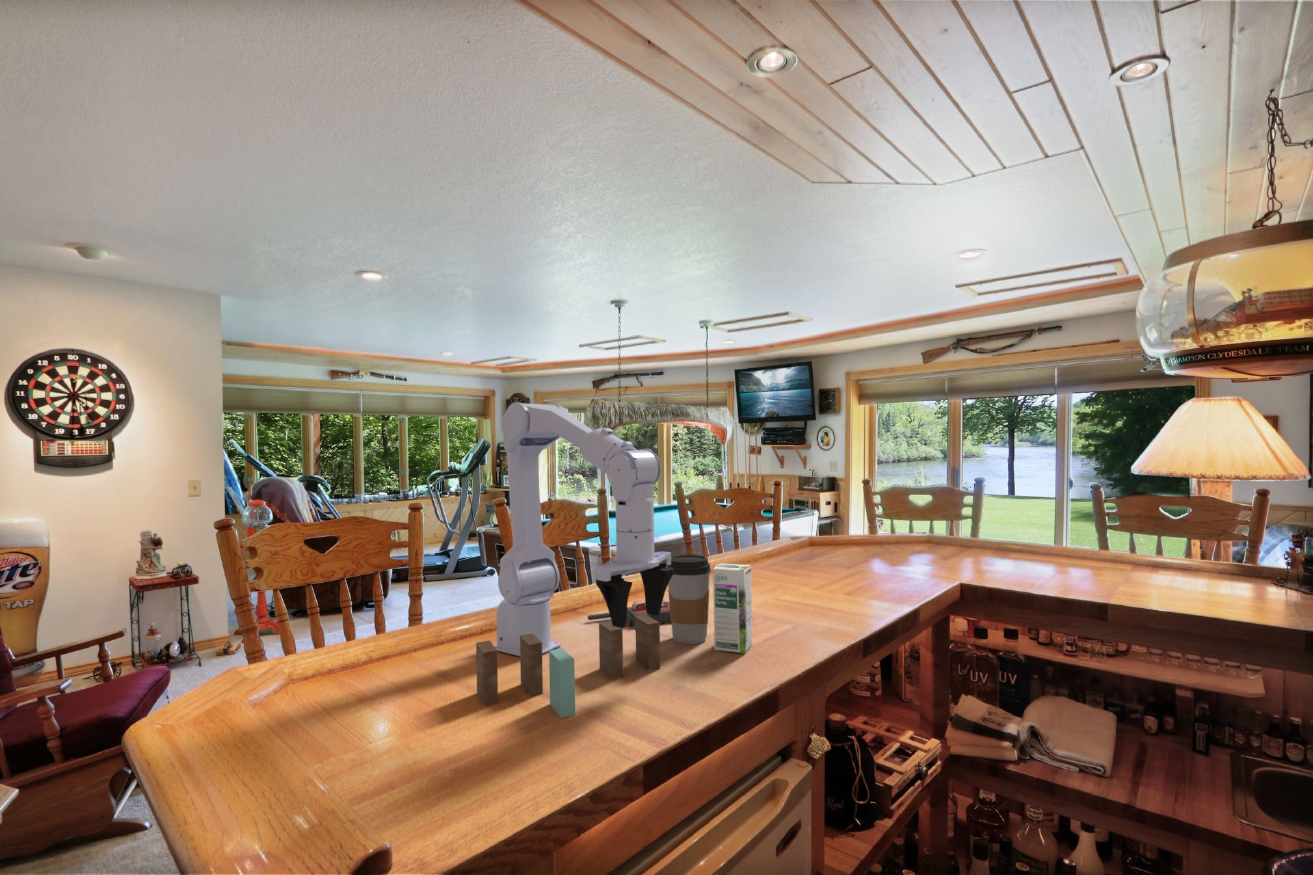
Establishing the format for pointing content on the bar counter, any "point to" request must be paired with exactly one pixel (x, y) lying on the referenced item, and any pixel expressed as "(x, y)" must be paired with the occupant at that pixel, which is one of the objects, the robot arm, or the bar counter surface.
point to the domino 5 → (647, 642)
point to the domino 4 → (611, 649)
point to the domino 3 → (562, 682)
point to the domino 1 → (487, 672)
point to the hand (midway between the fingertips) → (636, 620)
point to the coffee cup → (689, 598)
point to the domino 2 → (531, 664)
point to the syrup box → (732, 608)
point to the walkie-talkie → (640, 613)
